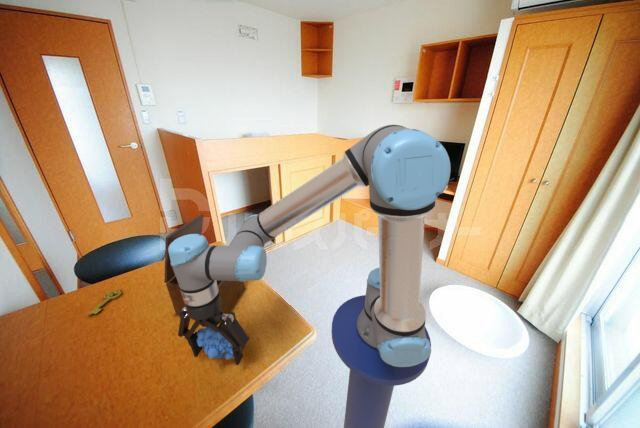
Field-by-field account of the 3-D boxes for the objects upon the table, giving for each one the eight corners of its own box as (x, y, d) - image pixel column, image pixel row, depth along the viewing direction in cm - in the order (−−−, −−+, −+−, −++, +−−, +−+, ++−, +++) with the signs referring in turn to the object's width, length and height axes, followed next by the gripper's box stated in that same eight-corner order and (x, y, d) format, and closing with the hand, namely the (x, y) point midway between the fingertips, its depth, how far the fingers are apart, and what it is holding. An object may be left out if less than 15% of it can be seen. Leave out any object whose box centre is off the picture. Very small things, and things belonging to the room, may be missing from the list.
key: (95, 313, 81) (81, 312, 82) (96, 316, 82) (83, 314, 82) (124, 289, 92) (112, 288, 92) (125, 291, 92) (113, 291, 93)
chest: (245, 288, 95) (240, 260, 89) (222, 323, 80) (215, 291, 74) (205, 282, 98) (198, 255, 92) (176, 314, 83) (165, 283, 77)
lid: (203, 214, 83) (201, 213, 83) (168, 238, 68) (165, 237, 68) (199, 254, 92) (197, 253, 92) (166, 283, 77) (164, 282, 77)
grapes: (193, 371, 63) (182, 340, 58) (206, 347, 70) (197, 318, 64) (235, 374, 63) (227, 344, 57) (245, 350, 69) (238, 321, 64)
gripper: (145, 301, 55) (170, 361, 64) (241, 316, 51) (253, 378, 60) (169, 279, 61) (189, 337, 71) (256, 291, 57) (265, 351, 67)
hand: (218, 356), depth 65 cm, fingers closed on grapes, 12 cm apart
